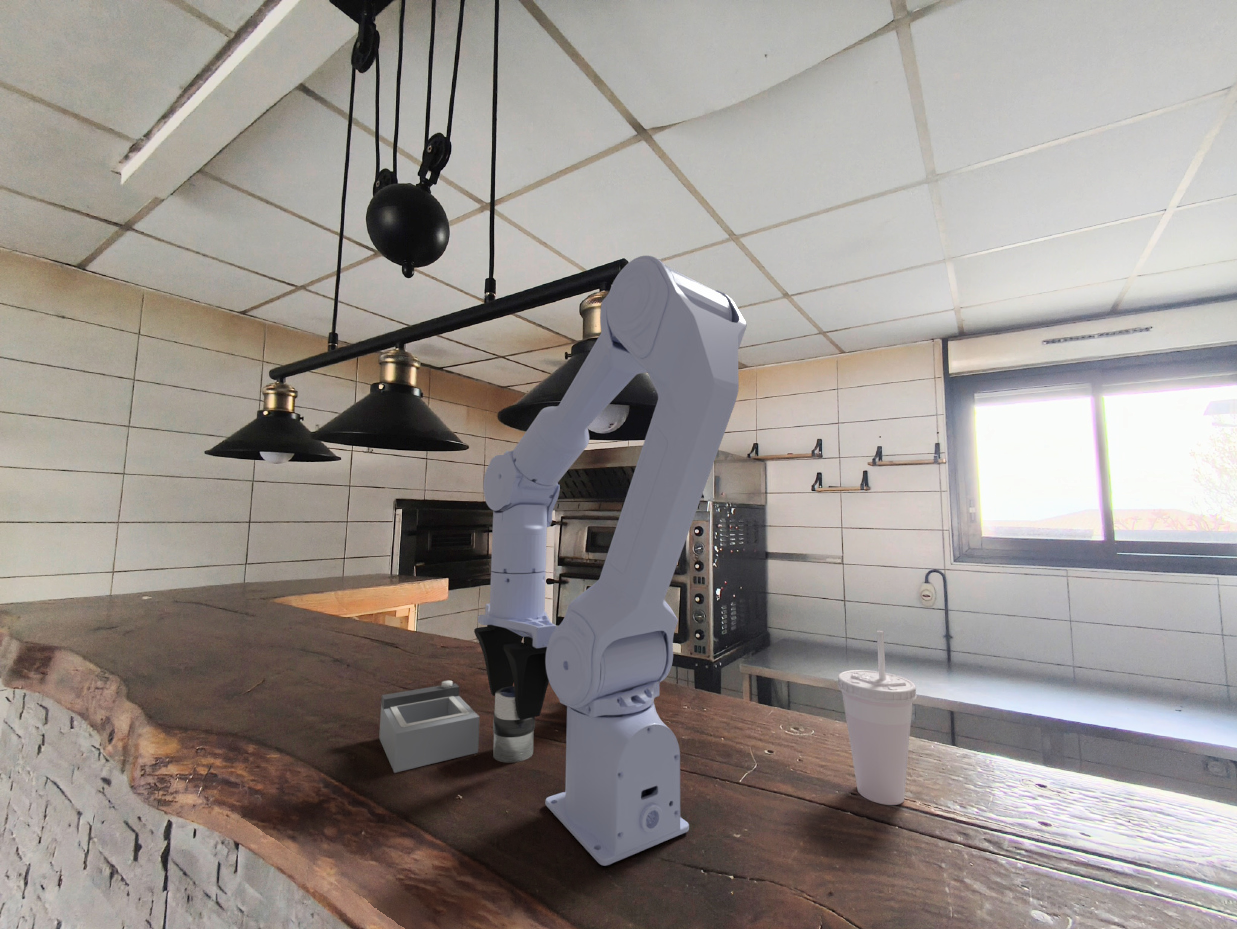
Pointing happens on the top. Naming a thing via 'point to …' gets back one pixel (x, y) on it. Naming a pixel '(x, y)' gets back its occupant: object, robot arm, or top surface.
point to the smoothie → (878, 728)
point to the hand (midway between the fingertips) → (514, 704)
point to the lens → (511, 729)
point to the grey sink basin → (427, 726)
